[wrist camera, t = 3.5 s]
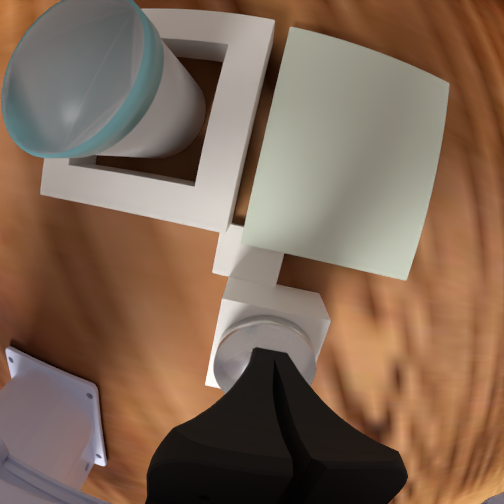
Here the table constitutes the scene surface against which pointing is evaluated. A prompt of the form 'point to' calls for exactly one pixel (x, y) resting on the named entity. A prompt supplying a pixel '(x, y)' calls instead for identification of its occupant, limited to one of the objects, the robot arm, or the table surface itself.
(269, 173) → the pad
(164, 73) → the cartridge
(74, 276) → the table surface
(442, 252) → the table surface
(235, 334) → the plunger
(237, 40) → the holder
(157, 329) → the table surface
